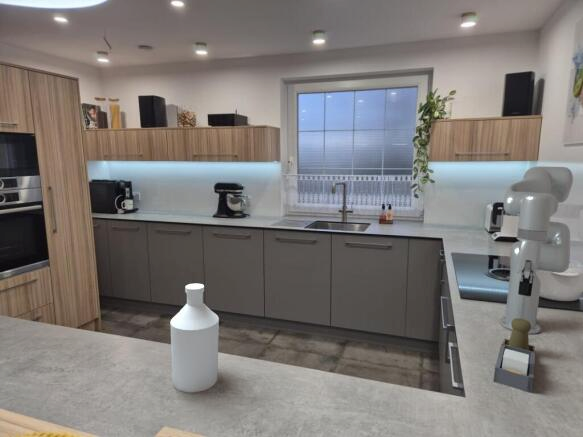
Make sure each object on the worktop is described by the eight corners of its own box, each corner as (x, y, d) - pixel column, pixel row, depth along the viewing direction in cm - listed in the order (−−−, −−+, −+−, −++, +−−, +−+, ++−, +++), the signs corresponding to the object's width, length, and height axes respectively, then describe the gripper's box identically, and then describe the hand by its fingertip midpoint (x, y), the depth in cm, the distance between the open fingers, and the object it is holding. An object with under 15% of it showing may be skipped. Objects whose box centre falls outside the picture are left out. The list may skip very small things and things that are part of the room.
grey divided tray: (500, 355, 113) (501, 342, 112) (533, 364, 108) (535, 351, 107) (493, 381, 99) (495, 366, 98) (531, 392, 94) (533, 377, 93)
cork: (532, 359, 111) (537, 325, 109) (510, 357, 112) (514, 322, 111) (524, 350, 117) (528, 317, 115) (503, 347, 118) (507, 315, 116)
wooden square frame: (503, 344, 120) (504, 338, 120) (534, 352, 116) (534, 346, 115) (500, 354, 113) (501, 348, 113) (533, 363, 109) (534, 357, 108)
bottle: (193, 399, 87) (193, 298, 84) (161, 382, 94) (159, 287, 90) (228, 376, 97) (228, 285, 94) (196, 362, 103) (196, 276, 100)
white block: (502, 371, 104) (505, 348, 103) (525, 378, 101) (528, 354, 100) (500, 380, 99) (503, 356, 98) (524, 388, 96) (528, 363, 95)
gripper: (519, 230, 118) (513, 282, 121) (515, 237, 104) (508, 295, 106) (547, 233, 114) (540, 287, 116) (547, 241, 100) (539, 301, 102)
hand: (525, 291), depth 111 cm, fingers open, 9 cm apart
